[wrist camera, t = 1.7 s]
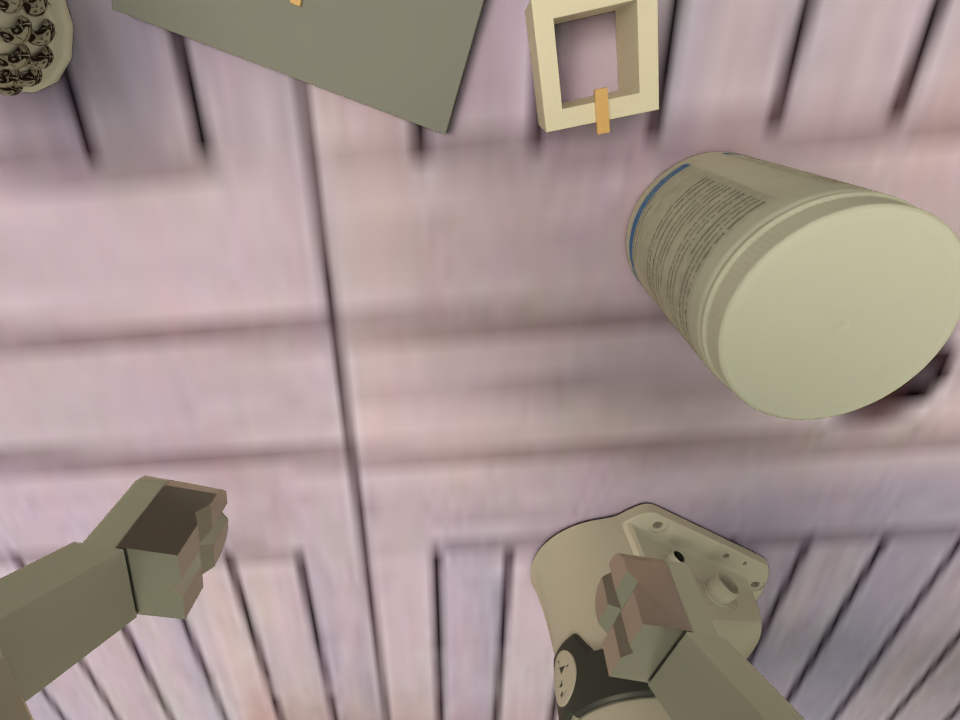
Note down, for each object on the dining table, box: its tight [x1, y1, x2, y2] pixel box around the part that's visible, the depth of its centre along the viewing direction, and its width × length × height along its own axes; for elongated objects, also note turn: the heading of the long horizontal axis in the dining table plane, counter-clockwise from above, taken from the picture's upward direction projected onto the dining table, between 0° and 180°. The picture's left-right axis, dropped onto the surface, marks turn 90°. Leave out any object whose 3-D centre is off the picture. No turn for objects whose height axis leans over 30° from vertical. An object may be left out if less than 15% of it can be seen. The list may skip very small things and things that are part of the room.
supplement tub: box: [626, 152, 960, 420], centre depth 26 cm, size 10×10×15 cm
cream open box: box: [525, 0, 659, 134], centre depth 26 cm, size 6×6×5 cm
